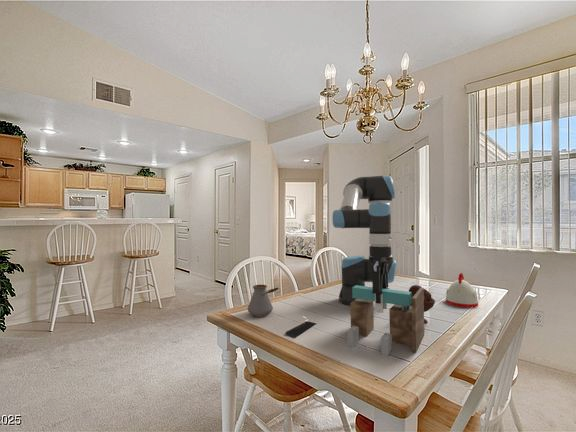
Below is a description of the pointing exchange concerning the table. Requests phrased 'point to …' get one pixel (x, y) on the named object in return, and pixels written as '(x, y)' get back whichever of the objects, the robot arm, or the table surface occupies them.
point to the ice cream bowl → (427, 298)
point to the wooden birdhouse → (408, 322)
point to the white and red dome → (461, 294)
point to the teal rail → (384, 296)
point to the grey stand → (385, 340)
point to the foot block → (362, 316)
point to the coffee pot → (260, 301)
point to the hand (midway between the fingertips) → (381, 310)
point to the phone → (300, 329)
